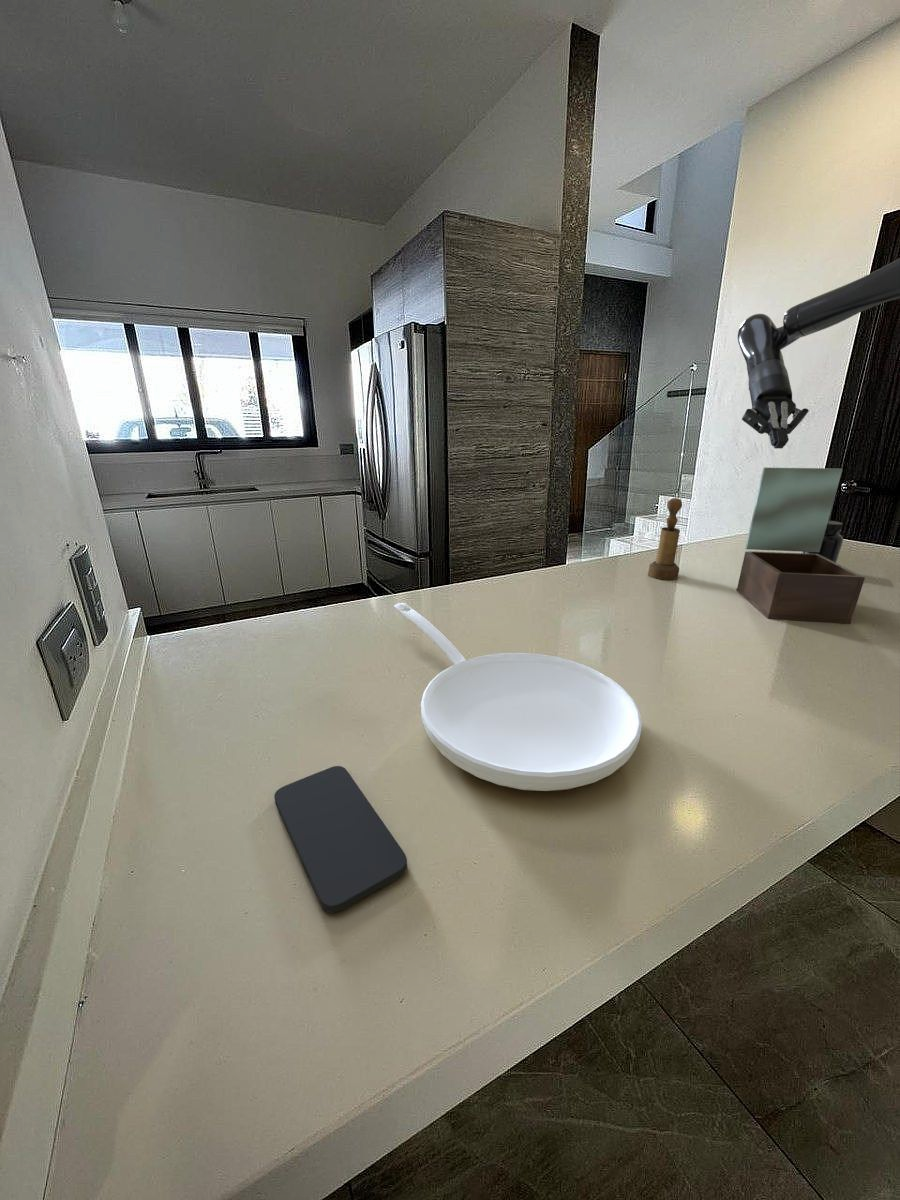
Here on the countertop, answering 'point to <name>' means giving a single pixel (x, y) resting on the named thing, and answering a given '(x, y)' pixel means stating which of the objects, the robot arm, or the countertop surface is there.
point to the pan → (527, 717)
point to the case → (799, 586)
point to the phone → (339, 838)
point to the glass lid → (792, 508)
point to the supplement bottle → (831, 541)
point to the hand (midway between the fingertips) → (780, 445)
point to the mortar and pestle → (667, 546)
